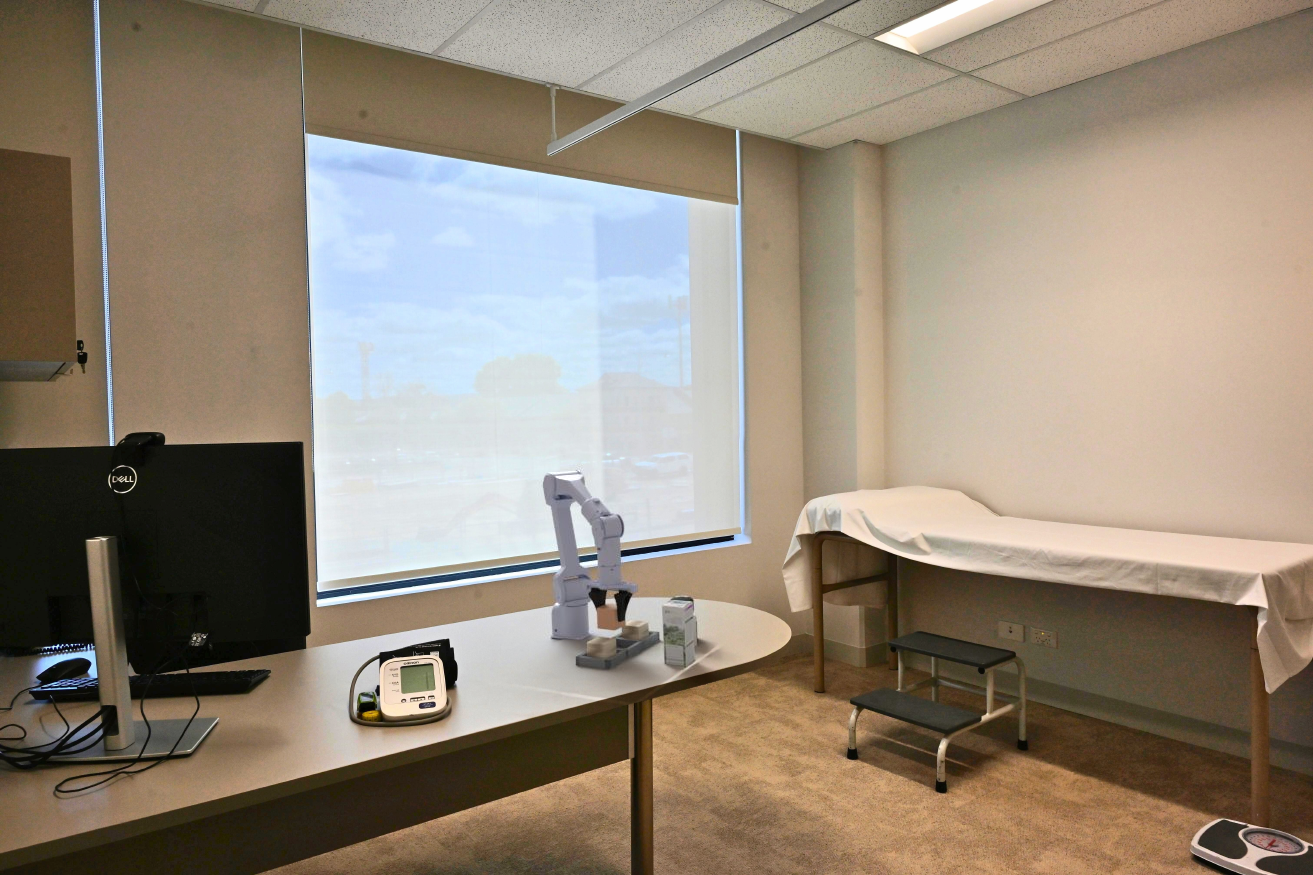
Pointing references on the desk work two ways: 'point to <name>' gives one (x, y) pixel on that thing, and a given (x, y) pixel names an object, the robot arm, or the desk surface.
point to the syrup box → (678, 632)
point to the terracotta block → (608, 617)
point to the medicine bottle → (686, 598)
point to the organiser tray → (618, 651)
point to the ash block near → (601, 648)
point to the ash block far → (635, 630)
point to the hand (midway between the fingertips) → (611, 619)
